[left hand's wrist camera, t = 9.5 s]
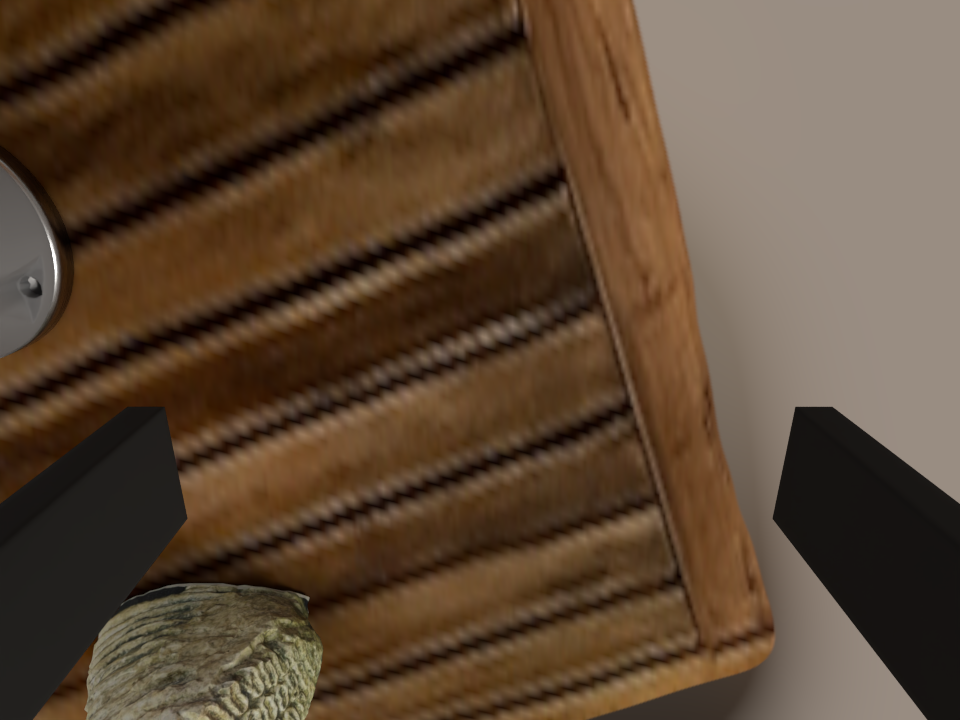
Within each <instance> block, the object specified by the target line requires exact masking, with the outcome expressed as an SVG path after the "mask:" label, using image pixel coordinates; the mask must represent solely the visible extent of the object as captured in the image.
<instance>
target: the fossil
mask: <svg viewBox="0 0 960 720" xmlns="http://www.w3.org/2000/svg"><path fill="white" fill-rule="evenodd" d="M308 601H309V597H307V596H304V595H302V594H299V593H296V592H292V591H281V590H276V589H271V588H266V587H255V586H248V585H240V586H235V585H229V584H224V583H187V584H175V585H169V586H165V587H162V588H159V589H156V590H152V591H149V592H147V593H146V594H144V595H138V596H135V597H133V598H131V599H129V600H127V601H126V602H124V603H122V604H121V606H120V608H119V609H118V610H117V612H116V613H115V614H114V615H113V616H112V617H111V619H110V620H109V621H108V622H107V624H106V625H105V626H104V628H103V629H102V630H101V632H100V633H99V636H98V641H97V643H96V644H95V645H94V651H93V657H92V661H91V664H90V666H89V667H90V669H89V671H88V673H89V676H88V679H87V689H88V700H87V705H86V707H85V709H84V710H85V711H87V712H88V714H87V718H86V720H304V719H305V717H306V716H307V714H308V709H309V707H310V702H311V700H312V698H313V695H314V691H315V687H316V683H317V679H318V676H319V672H320V667H321V662H322V654H323V646H322V643H321V639H320V637H319V636H318V635H317V634H316V632H315V631H314V629H313V628H312V626H311V625H310V623H309V620H308V619H307V618H308V608H307V604H308Z"/></svg>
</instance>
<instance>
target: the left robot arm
mask: <svg viewBox="0 0 960 720" xmlns="http://www.w3.org/2000/svg"><path fill="white" fill-rule="evenodd" d="M73 275H74V268H73V256H72V249H71V245H70V241H69V237H68V234H67V231H66V228H65V225H64V223H63V221H62V218H61V216H60V214H59V212H58V210H57V208H56V207H55V205H54V203H53V201H52V200H51V198H50V197H49V195H48V194H47V192H46V191H45V189H44V188H43V187H42V185H41V184H40V183H39V181H38V180H37V179H36V178H35V177H34V176H33V175H32V173H31V172H30V171H29V170H28V169H27V168H26V167H25V166H24V165H23V164H22V163H21V162H20V161H18V160H17V159H16V158H15V157H14V156H13V155H11V154H10V153H9V152H8V151H6V150H5V149H3V148H2V147H1V146H0V358H2V357H4V356H7V355H9V354H11V353H14V352H16V351H18V350H20V349H22V348H24V347H27V346H29V345H31V344H33V343H34V342H36V341H38V340H39V339H41V338H42V337H43V336H45V335H46V334H47V333H48V332H49V331H50V330H51V329H52V328H53V327H54V326H55V325H56V323H57V322H58V321H59V319H60V318H61V316H62V315H63V313H64V311H65V309H66V307H67V304H68V302H69V298H70V295H71V291H72V286H73ZM186 520H187V514H186V509H185V505H184V500H183V495H182V490H181V485H180V480H179V475H178V470H177V466H176V461H175V456H174V451H173V446H172V441H171V436H170V431H169V426H168V422H167V417H166V412H165V407H127V408H126V409H124V410H123V411H122V412H120V413H119V414H118V415H116V416H115V417H114V418H112V419H111V420H110V421H108V422H107V423H106V424H105V425H103V426H102V427H101V428H99V429H98V430H97V431H95V432H94V433H93V434H91V435H90V436H89V437H87V438H86V439H85V440H84V441H82V442H81V443H80V444H78V445H77V446H76V447H74V448H73V449H72V450H70V451H69V452H68V453H66V454H65V455H64V456H63V457H61V458H60V459H59V460H57V461H56V462H55V463H53V464H52V465H51V466H49V467H48V468H47V469H45V470H44V471H43V472H42V473H40V474H39V475H38V476H36V477H35V478H34V479H32V480H31V481H30V482H28V483H27V484H26V485H24V486H23V487H22V488H21V489H19V490H18V491H17V492H15V493H14V494H13V495H11V496H10V497H9V498H7V499H6V500H5V501H3V502H2V503H1V504H0V720H33V719H34V717H35V716H36V715H37V713H38V712H39V711H40V709H41V708H42V707H43V706H44V704H45V703H46V702H47V700H48V699H49V698H50V696H51V695H52V694H53V693H54V691H55V690H56V689H57V687H58V686H59V685H60V683H61V682H62V681H63V680H64V678H65V677H66V676H67V674H68V673H69V672H70V670H71V669H72V668H73V667H74V665H75V664H76V663H77V661H78V660H79V659H80V657H81V656H82V655H83V654H84V652H85V651H86V650H87V648H88V647H89V646H90V645H91V643H92V642H93V641H94V639H95V638H96V637H97V635H98V634H99V633H100V632H101V630H102V629H103V628H104V626H105V625H106V624H107V622H108V621H109V620H110V619H111V617H112V616H113V615H114V613H115V612H116V611H117V609H118V608H119V607H120V606H121V604H122V603H123V602H124V600H125V599H126V598H127V596H128V595H129V594H130V593H131V591H132V590H133V589H134V587H135V586H136V585H137V583H138V582H139V581H140V580H141V578H142V577H143V576H144V574H145V573H146V572H147V570H148V569H149V568H150V567H151V565H152V564H153V563H154V561H155V560H156V559H157V557H158V556H159V555H160V554H161V552H162V551H163V550H164V548H165V547H166V546H167V544H168V543H169V542H170V541H171V539H172V538H173V537H174V535H175V534H176V533H177V531H178V530H179V529H180V528H181V526H182V525H183V524H184V522H185V521H186ZM773 520H774V521H775V522H776V524H777V525H778V526H779V528H780V529H781V530H782V531H783V533H784V534H785V535H786V537H787V538H788V539H789V541H790V542H791V543H792V544H793V546H794V547H795V548H796V550H797V551H798V552H799V553H800V555H801V556H802V557H803V559H804V560H805V561H806V563H807V564H808V565H809V567H810V568H811V569H812V570H813V572H814V573H815V574H816V576H817V577H818V578H819V580H820V581H821V582H822V583H823V585H824V586H825V587H826V589H827V590H828V591H829V593H830V594H831V595H832V596H833V598H834V599H835V600H836V602H837V603H838V604H839V606H840V607H841V608H842V609H843V611H844V612H845V613H846V615H847V616H848V617H849V618H850V620H851V621H852V622H853V624H854V625H855V626H856V628H857V629H858V630H859V632H860V633H861V634H862V635H863V637H864V638H865V639H866V641H867V642H868V643H869V644H870V646H871V647H872V648H873V650H874V651H875V652H876V654H877V655H878V656H879V657H880V659H881V660H882V661H883V663H884V664H885V665H886V667H887V668H888V669H889V670H890V672H891V673H892V674H893V676H894V677H895V678H896V680H897V681H898V682H899V683H900V685H901V686H902V687H903V689H904V690H905V691H906V693H907V694H908V695H909V696H910V698H911V699H912V700H913V702H914V703H915V704H916V706H917V707H918V708H919V709H920V711H921V712H922V713H923V715H924V716H925V717H926V719H927V720H960V504H959V503H958V502H957V501H955V500H954V499H953V498H951V497H950V496H949V495H947V494H946V493H945V492H943V491H942V490H941V489H939V488H938V487H937V486H936V485H934V484H933V483H932V482H930V481H929V480H928V479H926V478H925V477H924V476H922V475H921V474H920V473H918V472H917V471H916V470H915V469H913V468H912V467H911V466H909V465H908V464H907V463H905V462H904V461H903V460H901V459H900V458H899V457H897V456H896V455H895V454H894V453H892V452H891V451H890V450H888V449H887V448H886V447H884V446H883V445H882V444H880V443H879V442H878V441H876V440H875V439H874V438H873V437H871V436H870V435H869V434H867V433H866V432H865V431H863V430H862V429H861V428H859V427H858V426H857V425H855V424H854V423H853V422H851V421H850V420H849V419H848V418H846V417H845V416H844V415H842V414H841V413H840V412H838V411H837V410H836V409H834V408H833V407H795V412H794V417H793V422H792V426H791V431H790V436H789V441H788V446H787V451H786V456H785V461H784V466H783V470H782V475H781V480H780V485H779V490H778V495H777V500H776V505H775V510H774V514H773Z"/></svg>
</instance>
